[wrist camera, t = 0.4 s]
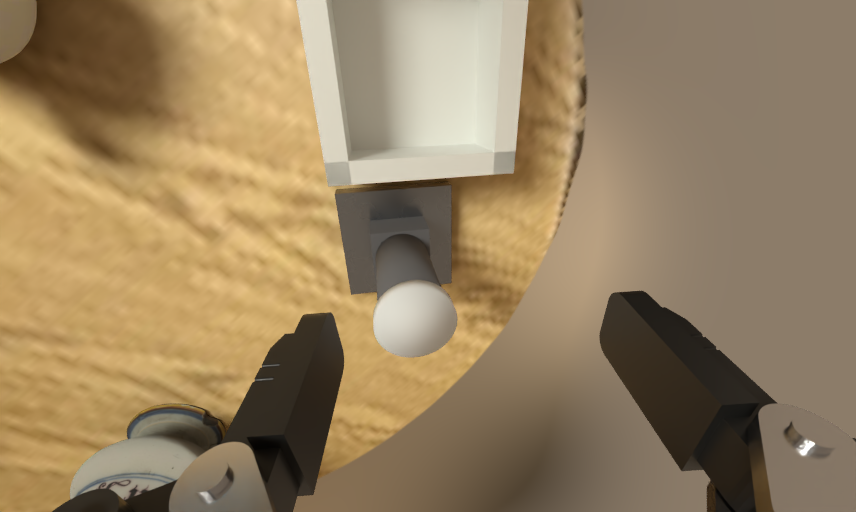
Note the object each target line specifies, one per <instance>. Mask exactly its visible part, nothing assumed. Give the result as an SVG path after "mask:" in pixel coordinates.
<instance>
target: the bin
mask: <svg viewBox="0 0 856 512" xmlns="http://www.w3.org/2000/svg"><path fill="white" fill-rule="evenodd" d="M296 1H297V7H298V13H299V19H300V24H301V30H302V36H303V42H304V48H305V54H306V59H307V65H308V71H309V77H310V83H311V89H312V94H313V100H314V106H315V112H316V118H317V124H318V129H319V135H320V141H321V147H322V153H323V159H324V164H325V170H326V176H327V182H328V186H341V185H355V184H369V183H383V182H397V181H411V180H425V179H439V178H453V177H467V176H481V175H495V174H509V173H514V164H515V153H516V141H517V129H518V117H519V106H520V94H521V82H522V71H523V59H524V47H525V35H526V24H527V12H528V0H296Z"/></svg>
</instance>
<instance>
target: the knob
mask: <svg viewBox="0 0 856 512" xmlns="http://www.w3.org/2000/svg"><path fill="white" fill-rule="evenodd" d="M370 239H371V248H372V256H373V264H374V272H375V281H376V286H377V300H378V302H377V303H376V306H375V309H374V314H373V324H374V334H375V337H376V339H377V341H378V343H379V344H380V345H381V346H382V347H383V348H384V349H385V350H387V351H388V352H390V353H392V354H395V355H397V356H402V357H420V356H424V355H428V354H430V353H433V352H435V351H437V350H438V349H440V348H441V347H443V346H444V345H445V344H446V343H447V342H448V341H449V340H450V338H451V337H452V335H453V334H454V332H455V329H456V326H457V313H456V310H455V307H454V305H453V303H452V300H451V298H450V296H449V294H448V293H447V292H446V291H445V290H444V289H443V288H442V287H441V285H440V282H439V280H438V277H437V275H436V272H435V269H434V267H433V264H432V262H431V259H430V235H429V227H428V225H427V223H426V221H425V219H424V216H417V217H406V218H394V219H383V220H371V221H370ZM381 242H382V243H381Z"/></svg>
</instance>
